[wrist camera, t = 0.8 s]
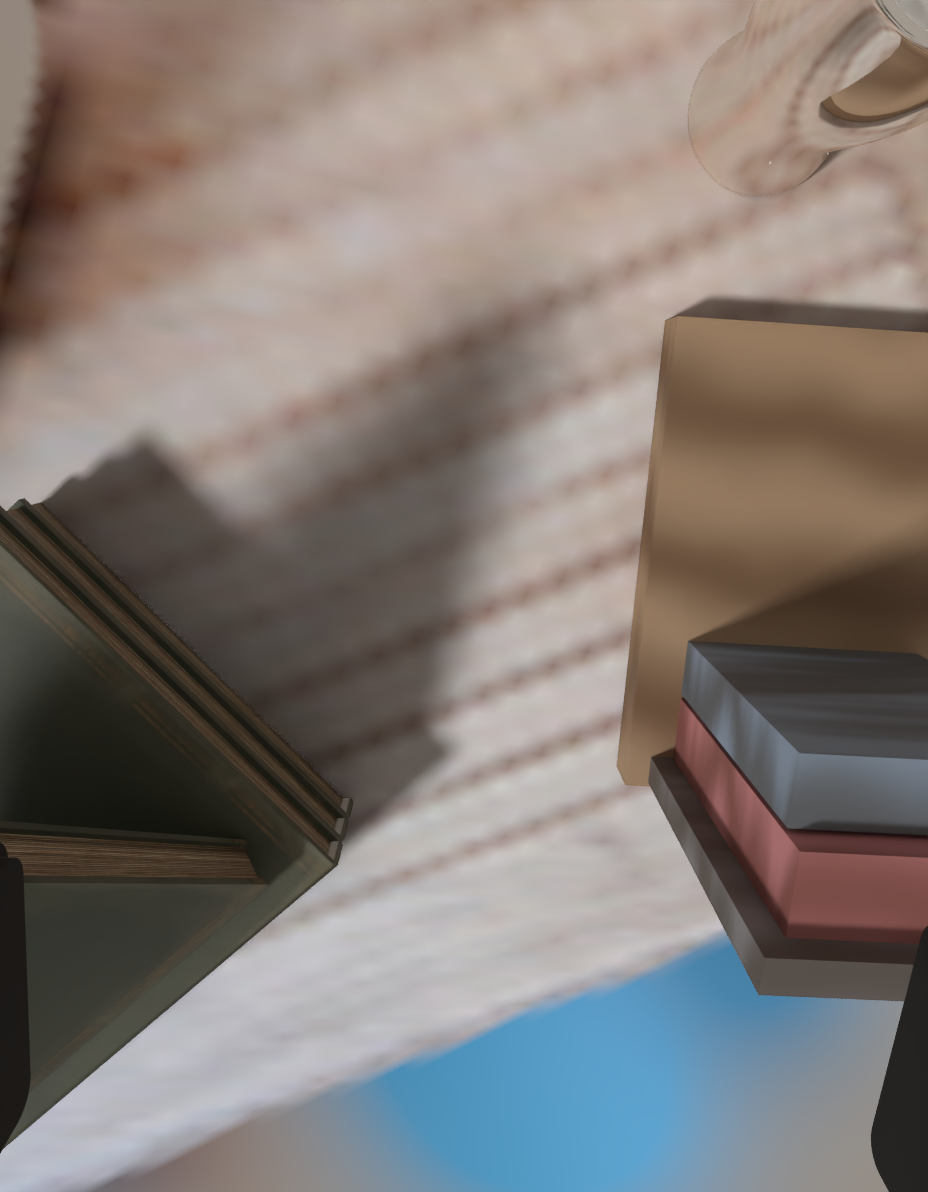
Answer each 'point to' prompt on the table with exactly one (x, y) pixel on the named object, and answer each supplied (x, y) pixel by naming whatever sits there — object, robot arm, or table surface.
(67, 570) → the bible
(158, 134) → the table surface
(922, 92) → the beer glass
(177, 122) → the table surface
